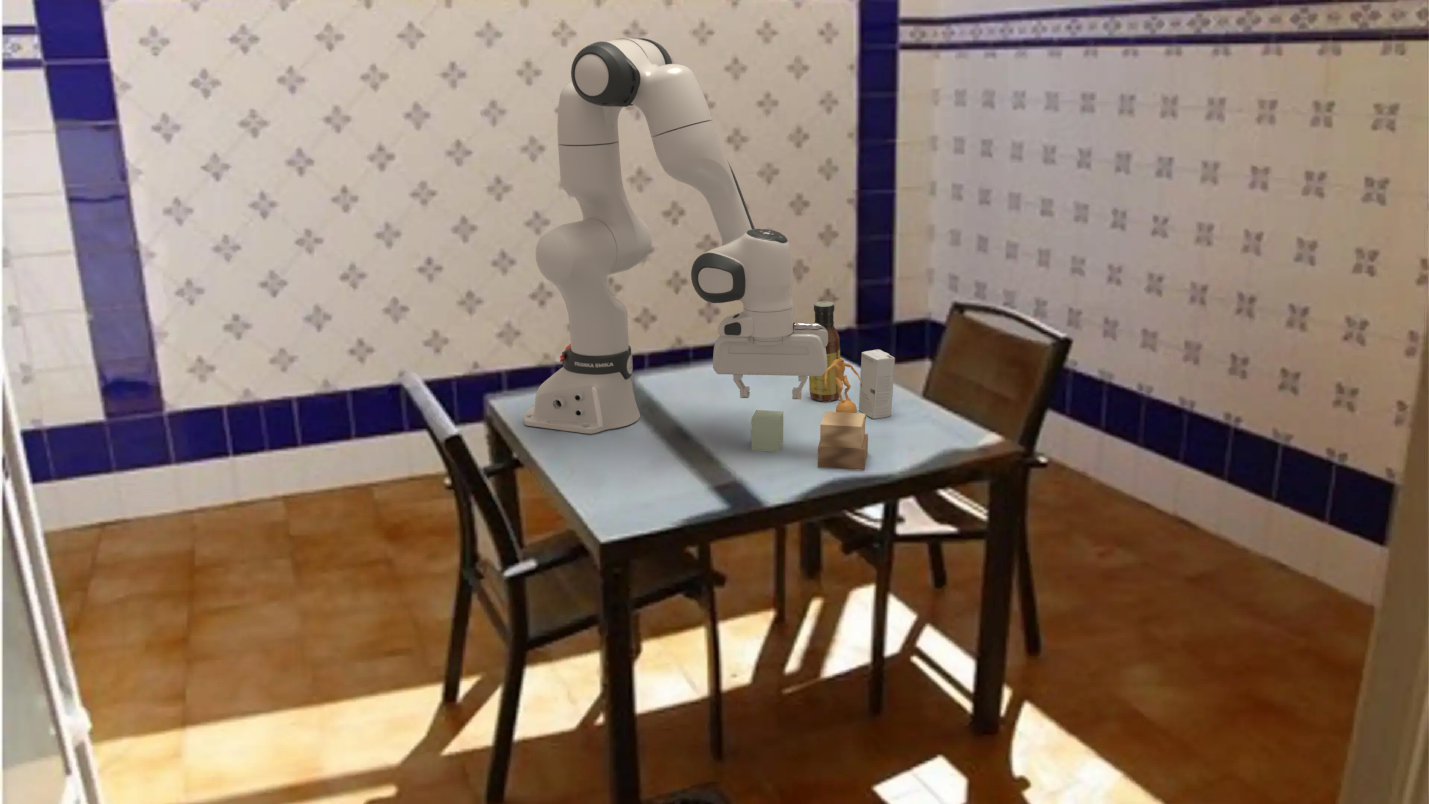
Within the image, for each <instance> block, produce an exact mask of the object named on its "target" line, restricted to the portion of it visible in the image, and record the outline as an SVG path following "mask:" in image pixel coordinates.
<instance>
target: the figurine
mask: <svg viewBox="0 0 1429 804" xmlns="http://www.w3.org/2000/svg"><path fill="white" fill-rule="evenodd" d="M846 368H850V369H851V370H852V371H853V373H854V374H855V375H856V376H857V377H858V380H859V381H860V375H859V374H858V372H857V370H856V369H855V368H854V366H853V365H852V364H850V363H847V362H846V361H845V360H844V358H843V357H840V359H836V360H834V361H833V363H832V364H831V366H830V367H828V368H827V370H826V372H825V381H824V386H826V385H827V384H828V383H827V382H826V381H827V372H828V371H830V370H831V369H834V371H835V373H836V374H837V377H836V378H835V382H836V384H837V386H838V388H839V389H840V390H838V393H839V400H840V402H839V401H838V403H837V405H836V407H835V412H845V413H858V410H857V406H856V404H855V403H854V402H853V401H852V400H851V398H849V396H848V392H849V391H850V389H851V387H852V385H851V384H850V382H849V380H848V376H847V375H845V370H846ZM843 385H844V386H845V388H844V387H843ZM827 387H828V386H827ZM843 389H844V396H845V399H843V396H842V394H841V393H842V391H843Z"/></svg>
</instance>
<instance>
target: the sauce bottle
mask: <svg viewBox="0 0 1429 804" xmlns="http://www.w3.org/2000/svg"><path fill="white" fill-rule="evenodd" d="M813 311H814V323H818V324H820V326H823V327H825V328H826V330H827V331H828V344H827V346H826V347H825V348H826V354H827V368H828V367H830V366H831V364H832V363H833V361H834V360H836V359H840V358H841V347H840V335H839V333H838V330H837V329H836V327H835V325H834V324H835V321H834V317H835V316H834V312H835V303H834V302H833V301H828V300H827V301H826V300H825V301H816V302H815V303H814V304H813ZM819 329H822V328H819ZM836 377H837V374H836V373H835V371H834V369H831V370H830V371H828V372H827V381H826V382H827V383H828V384H827V385H826V386H824V381H825V373H824V374H823V375H822V376H808V378H809V379H808V381H809V387H808V388H809V389H808V390H809V396H810V398H811V399H813V400H815V401H818V402H819V401H820V402H823V403H825V402H826V403H827V402H830V401H831V402H832V401H836V400H838V399H840V397H839V393H838V390H840V389H839V388H838V386H837V384H836V382H835V378H836ZM827 386H828V387H827Z"/></svg>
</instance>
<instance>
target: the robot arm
mask: <svg viewBox="0 0 1429 804" xmlns="http://www.w3.org/2000/svg"><path fill="white" fill-rule="evenodd" d="M672 61H673V60H672V58H671V56H670V54H669V52H668V50H667V49H665V47H664V46H663V45H662V44H660V43H658V42H656V41H654V40H651V39H648V38H643V37H641V38H634V37H633V38H629V37H622V38H621V37H620V38H614V39H613V40H612V39H611V40H607V41H596V42H593V43H591V44H588V45H587V46H585V47H583V48H582V49H581V50H580V51H579V52H578V53H577V54H576V55H575V57H574V58H573V61H572V64H571V69H570V70H571V71H570V75H571V76H570V79H571V82H569V83H568V84H565V86H564V87H563V88H562V89H561V92H560V94H559V99H558V100H559V101H558V109H557V148H558V150H557V151H558V163H559V175H560V176H559V177H560V178H559V179H560V184H561V187H562V188H563V190H564V191H565V192H566V193H567V194H569V196H571V197H573V198H575V199H576V201H577V202H578V204H579V208H580V209H581V210H580V211H581V213H582V220H579V221H574V222H569V223H565V224H561V225H559V226H556V227H555V228H553V229H551V230H550V231H548V232H545V233H544V234H543V235H542V236H540V237H539V239H538V241H537V244H536V247H535V260H536V261H535V262H536V264H537V267H538V269H539V271H540V273H541V275H542V276H543V277H544V278H545V279H546V280H547V281H549V282H550V283H552V284H553V285H554V286H555V287H556V288H557V290H558V291H559V292H560V293H559V294H561V297H562V299H563V301H564V304H565V307H566V311H567V314H568V315H567V316H568V326H569V337H570V343H569V344H568V345H567V346H566V347H565V349H564V351H562V352H561V355H559V363H562V367H561V368H559V369H558V370H557V371H556V372H554V373H553V374H552V375H550V377H548V378H547V379H546V380H544V381H543V383H541V384H540V386H539V387H538V389H537V391H536V394H535V398H534V404H533V405H532V406H531V407H530V408H528V409H527V410H526V412H525V413H524V415H523V424H524V425H525V426H528V427H535V428H542V429H549V430H556V431H558V430H559V431H566V432H572V433H579V434H580V433H581V434H589V435H591V434H593V435H594V434H596V433H600V432H603V431H606V430H612V429H613V430H614V429H618V428H622V427H625V426H629V425H632V424H633V423H636V422H637V421H638V420H639V419H640V418H641V414H640V411H639V408H638V404H637V402H636V398H635V393H634V392H635V391H634V387H633V380H632V375H633V370H634V369H633V365H634V364H633V355H632V348H631V346H630V344H629V343H630V341H629V322H628V321H629V320H628V319H629V318H628V317H629V315H628V309H627V307H626V305H625V304H624V303H623V301H621V300H619V299H618V298H616V297H614V296H613V295H612V293H611V290H610V287H609V282H608V276H611V275H614V274H618V273H619V274H620V273H622V272H625V271H628V270H630V269H632V268H634V267H636V266H637V265H640V263H642V262H644V261H645V260H646V259H647V258H648V257H649V255H650V253H651V250H652V240H653V239H652V234H651V231H650V229H649V226H648V225H647V222H645V221H644V220H643V219H642V218H641V217H639V216H638V215H637V214H636V212H635V211H634V210H633V208H632V207H631V204H630V202H629V200H628V197H627V195H626V194H627V193H626V191H625V187H624V183H623V177H622V176H623V175H622V169H621V153H620V152H621V151H620V139H619V138H620V137H619V123H618V122H619V115H620V112H621V111H622V110H623V108H627V107H629V106H630V107H631V106H635V107H637V108H638V109H639V110H640V111H641V112H642V113H643V116H644V117H645V120H646V123H647V126H648V127H647V128H648V130H649V134H650V137H651V142H652V146H653V149H654V152H655V155H656V158H657V159H658V161H659V163H660V165H661V167H662V170H663V171H664V173H666V174H667V175H668V176H669V177H671V178H672V179H674V180H676V181H678V182H681V183H683V184H686V185H688V186H690V187H692V188H694V189H695V190H697V191H698V192H700V194H702V196H703V197H704V198H705V199H706V201H707V203H708V205H709V208H710V210H711V213H712V217H713V218H714V221H715V225H716V226H717V229H718V232H719V236H720V237H721V246H716V247H715V248H712V249H710V250H706V251H705V252H703V253H702V254H700V255H699V256H697V258H696V259H695V260H694V261H693V264H692V266H691V271H690V277H691V283H692V286H693V288H694V289H693V290H694V291H695V292H696V294H697V295H698V296H699V297H700V298H701V299H703V300H704V301H706V302H707V303H711V304H723V303H729V302H730V303H731V302H735V301H740V302H741V303H742V306H743V311H741V312H737V313H734V314H730V315H727V316H726V317H724V318H723V319H722V320H721V321H720V322H719V324H718V325H717V326H718V327H717V331H718V337H717V339H716V340H715V342H714V345H713V354H712V355H713V356H712V369H713V371H714V372H715V373H716V374H717V375H732V376H733V378H732V379H733V382H734V383H735V385H736V387H737V388H738V389H739V398H740V399H749V398H750V395H751V394H750V393H751V392H750V389H751V388H750V386H745V384H744V382H743V377H744V375H745V376H748V375H749V376H759V375H760V376H788V377H789V376H790V377H791V376H795V377H796V376H797V380H798V382H800V383H799V385H798V386H797V387H792V388H793V389H792V391H791V394H792V396H791V397H792V400H801V399H802V395H803V392H802V391H803V390H802V389H803V388H804V386H805V385H806V383H807V381H808V380H809V379H808V378H809V376H822V375H823V374H824V373H825V372H826V370H827V354H826V348H825V347H826V346H827V344H828V331H827V330H826V328H825V327H823V326H820V324H818V323H815V322H812V323H805V322H795V306H794V300H793V297H792V288H793V284H794V268H793V266H794V265H793V256H792V249H791V245H790V242H789V240H788V238H787V237H786V236H785V235H784V234H782V233H781V232H779V231H776V230H773V229H767V228H755V226H754V224H753V221H752V218H751V215H750V212H749V210H748V207H747V204H746V202H745V201H746V200H745V198H744V195H743V193H742V190H741V187H740V185H739V182H738V180H737V178H736V174H735V172H734V171H733V168H732V167H731V165H730V162H729V160H728V159H727V157H726V155H725V153H724V150H723V148H722V146H721V143H720V139H719V137H718V135H717V131H716V128H715V127H716V126H715V125H714V121H713V117H712V114H711V112H710V108H709V105H708V101H707V100H706V97H705V94H704V92H703V90H702V88H701V86H700V83H699V81H698V79H697V77H696V75H695V73H694V71H692V69H691V68H689V67H688V66H686V65H683V64H678V63H673V62H672ZM819 328H822V329H819Z"/></svg>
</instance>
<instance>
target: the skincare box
mask: <svg viewBox="0 0 1429 804" xmlns="http://www.w3.org/2000/svg"><path fill="white" fill-rule="evenodd" d="M860 357H861V358H860V359H861V362H860V375H859V377H860V380H859V395H858V397H859V398H858V410H859V411H860V412H861V413H863V414H865V416H866V417H869V418H870V419H883V418H887V417H891V416H892V405H893V394H894V393H893V392H894V391H893V390H894V377H895V374H894V373H895V362H896V358H895V357H894V356H892V355H890V353H888V352H885V351H883V350H881V349H873V350H866V351H862V352H861V356H860Z"/></svg>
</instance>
